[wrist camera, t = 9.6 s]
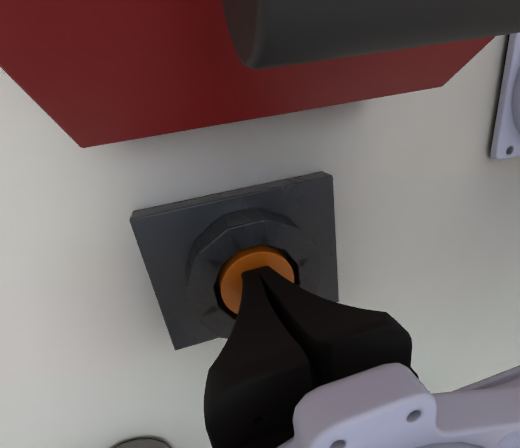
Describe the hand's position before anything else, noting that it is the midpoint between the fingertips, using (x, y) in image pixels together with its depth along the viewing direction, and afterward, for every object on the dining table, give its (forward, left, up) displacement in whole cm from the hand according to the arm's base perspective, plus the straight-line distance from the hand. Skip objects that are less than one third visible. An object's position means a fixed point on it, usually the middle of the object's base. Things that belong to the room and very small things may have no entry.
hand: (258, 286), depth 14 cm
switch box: (0, 0, -3) cm, 3 cm away
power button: (0, 0, -2) cm, 2 cm away
